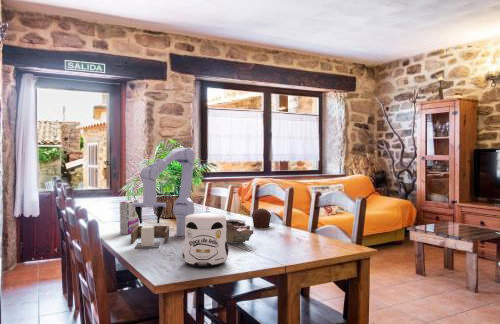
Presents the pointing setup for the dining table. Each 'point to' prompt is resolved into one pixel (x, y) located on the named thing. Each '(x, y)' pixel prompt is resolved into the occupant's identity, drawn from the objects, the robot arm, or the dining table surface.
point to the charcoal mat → (138, 246)
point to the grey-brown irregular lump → (237, 231)
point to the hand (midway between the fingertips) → (149, 223)
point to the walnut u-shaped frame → (157, 232)
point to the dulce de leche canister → (205, 240)
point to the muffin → (261, 218)
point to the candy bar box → (128, 217)
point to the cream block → (147, 236)
